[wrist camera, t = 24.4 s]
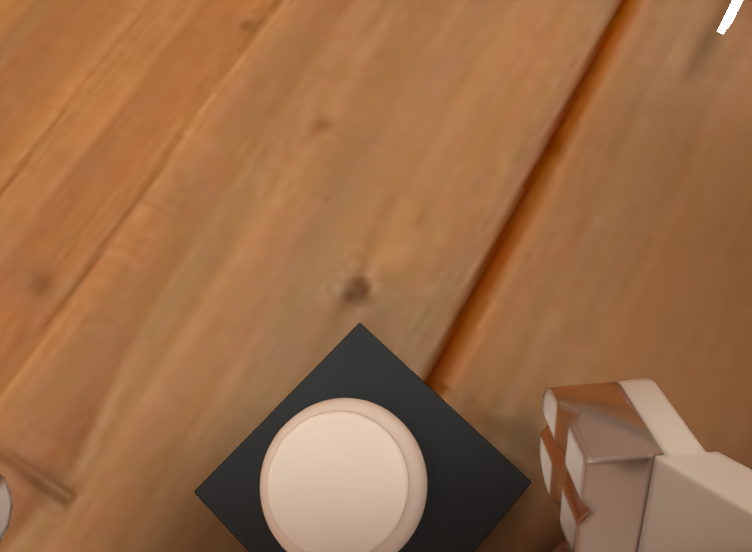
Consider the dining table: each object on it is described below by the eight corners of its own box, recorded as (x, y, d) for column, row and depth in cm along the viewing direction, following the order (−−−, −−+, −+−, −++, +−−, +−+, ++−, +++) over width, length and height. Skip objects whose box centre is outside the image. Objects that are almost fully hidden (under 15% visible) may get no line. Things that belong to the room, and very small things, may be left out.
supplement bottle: (263, 462, 28) (205, 449, 18) (372, 392, 28) (369, 346, 19) (330, 580, 26) (303, 632, 17) (442, 504, 27) (475, 512, 18)
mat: (359, 326, 30) (359, 322, 29) (528, 482, 28) (532, 482, 27) (198, 491, 28) (193, 492, 27) (367, 674, 26) (366, 680, 25)
